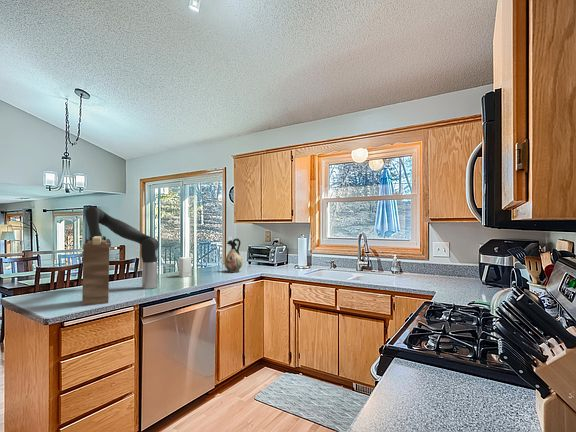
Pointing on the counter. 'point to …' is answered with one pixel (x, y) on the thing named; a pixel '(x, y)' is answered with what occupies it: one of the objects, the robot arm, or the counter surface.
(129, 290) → the counter surface
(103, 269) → the walnut stand
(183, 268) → the skincare box
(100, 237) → the beech bar
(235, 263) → the ceramic jug
